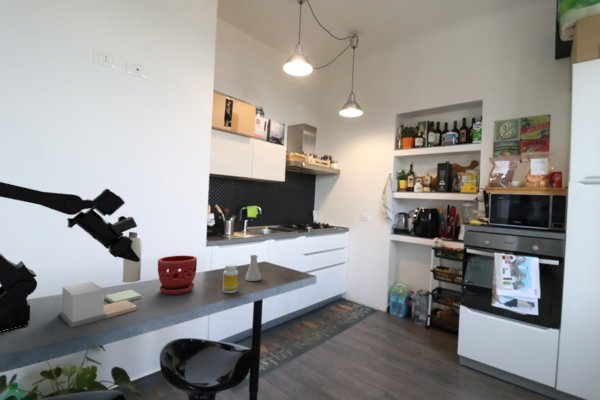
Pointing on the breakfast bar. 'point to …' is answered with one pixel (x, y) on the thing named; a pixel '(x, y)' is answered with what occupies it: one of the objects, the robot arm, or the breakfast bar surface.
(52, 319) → the breakfast bar surface
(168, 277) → the plant pot
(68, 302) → the grey unit
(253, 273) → the flask
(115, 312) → the terracotta pad
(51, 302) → the breakfast bar surface
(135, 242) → the cream bottle
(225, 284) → the supplement bottle
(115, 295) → the sage green pad
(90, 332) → the breakfast bar surface
